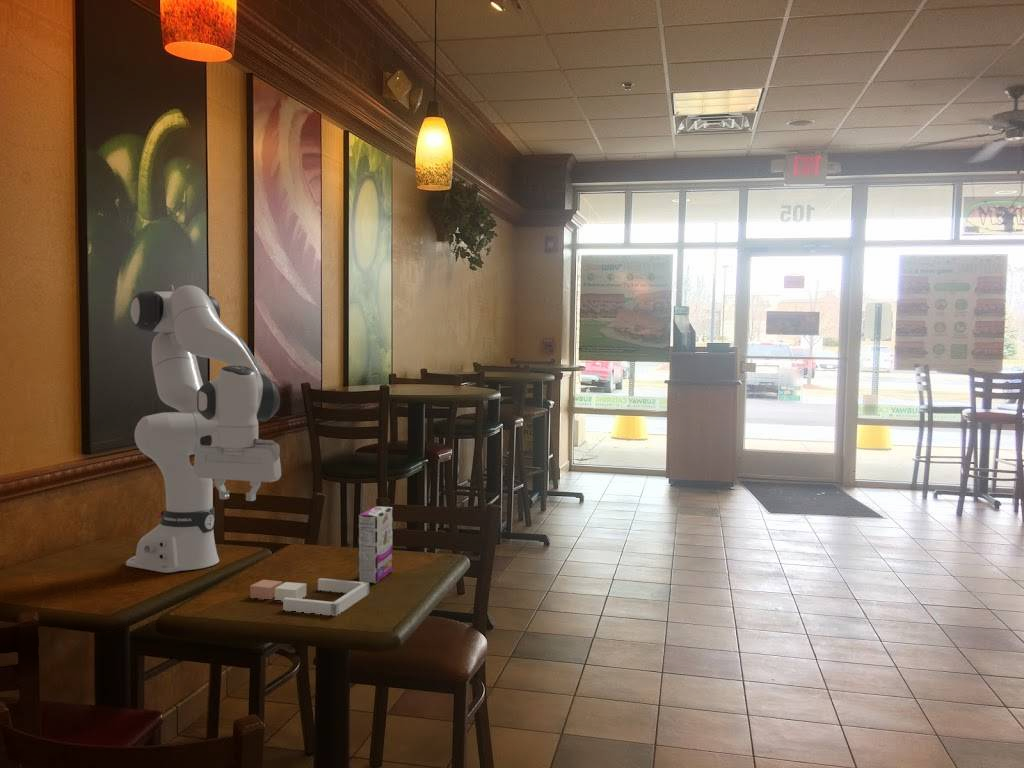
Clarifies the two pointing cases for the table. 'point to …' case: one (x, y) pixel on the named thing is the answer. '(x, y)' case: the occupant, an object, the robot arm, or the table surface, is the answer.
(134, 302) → the robot arm
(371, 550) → the candy bar box
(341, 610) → the box
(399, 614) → the table surface
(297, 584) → the cream tile
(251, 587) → the terracotta tile
